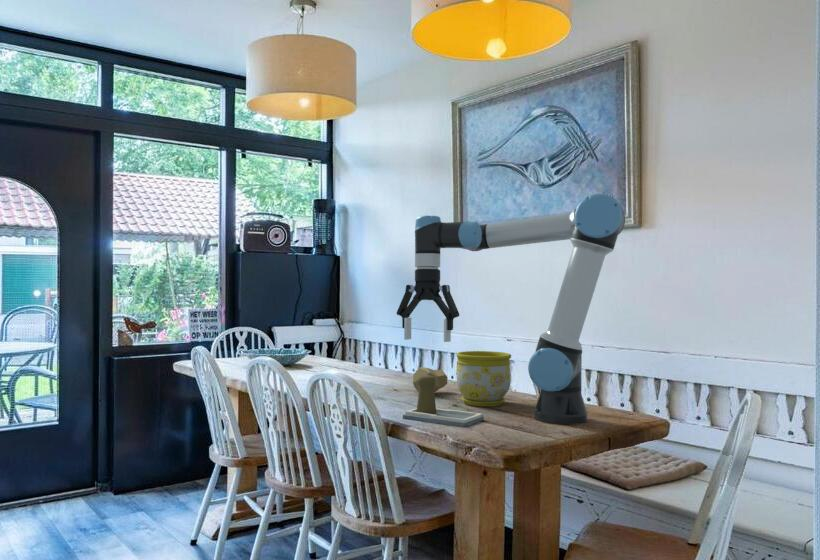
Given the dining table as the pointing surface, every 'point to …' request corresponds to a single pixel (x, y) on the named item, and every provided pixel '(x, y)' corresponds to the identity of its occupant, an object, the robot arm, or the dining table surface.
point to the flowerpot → (483, 377)
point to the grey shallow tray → (446, 417)
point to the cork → (426, 395)
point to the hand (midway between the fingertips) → (427, 340)
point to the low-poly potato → (437, 374)
